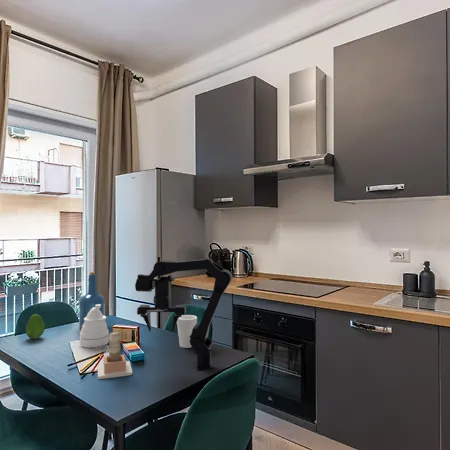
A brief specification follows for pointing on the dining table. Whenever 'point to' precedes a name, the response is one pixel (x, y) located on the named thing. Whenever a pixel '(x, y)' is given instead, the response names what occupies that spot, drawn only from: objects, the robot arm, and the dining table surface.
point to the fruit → (35, 327)
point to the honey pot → (94, 329)
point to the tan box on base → (114, 368)
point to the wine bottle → (90, 300)
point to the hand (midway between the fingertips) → (161, 331)
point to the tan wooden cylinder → (114, 347)
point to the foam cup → (185, 329)
